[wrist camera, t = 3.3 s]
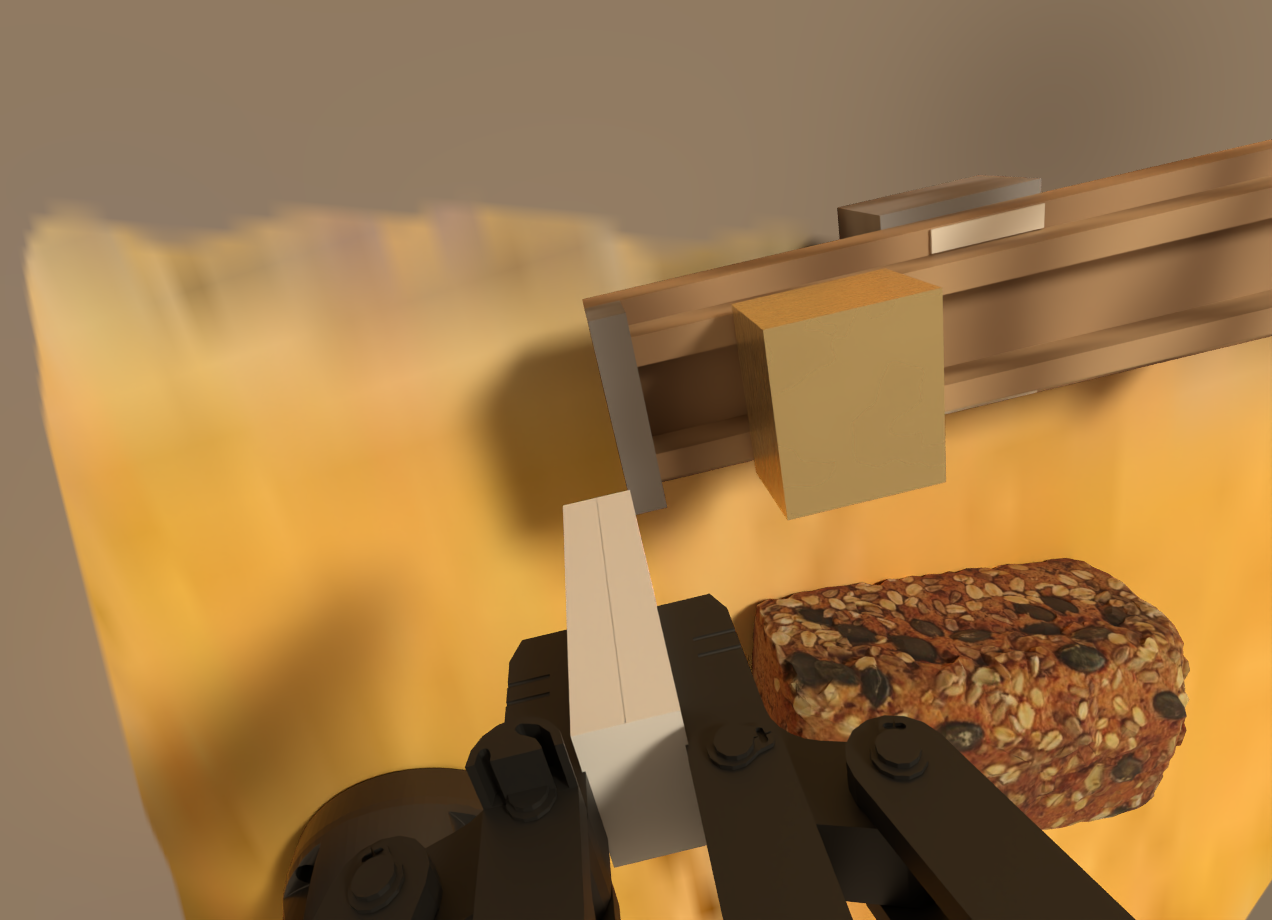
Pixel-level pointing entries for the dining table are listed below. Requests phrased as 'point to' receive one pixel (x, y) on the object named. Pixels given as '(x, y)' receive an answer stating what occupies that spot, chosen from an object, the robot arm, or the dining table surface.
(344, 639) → the dining table surface
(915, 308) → the block
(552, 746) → the robot arm
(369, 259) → the dining table surface
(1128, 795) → the bread
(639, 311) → the beam
